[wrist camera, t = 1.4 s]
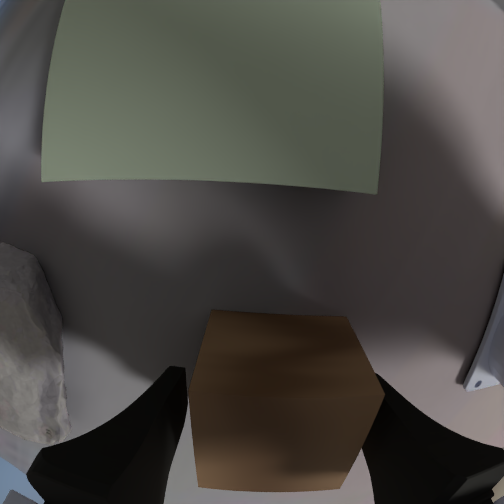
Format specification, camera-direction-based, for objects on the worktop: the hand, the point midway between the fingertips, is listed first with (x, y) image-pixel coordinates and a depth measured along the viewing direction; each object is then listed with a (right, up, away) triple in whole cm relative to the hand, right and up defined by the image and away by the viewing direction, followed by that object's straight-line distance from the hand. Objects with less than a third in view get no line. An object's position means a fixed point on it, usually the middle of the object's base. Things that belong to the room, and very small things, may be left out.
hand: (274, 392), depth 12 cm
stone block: (-15, +1, +2) cm, 15 cm away
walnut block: (0, +1, +2) cm, 2 cm away
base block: (-2, +13, -2) cm, 13 cm away
